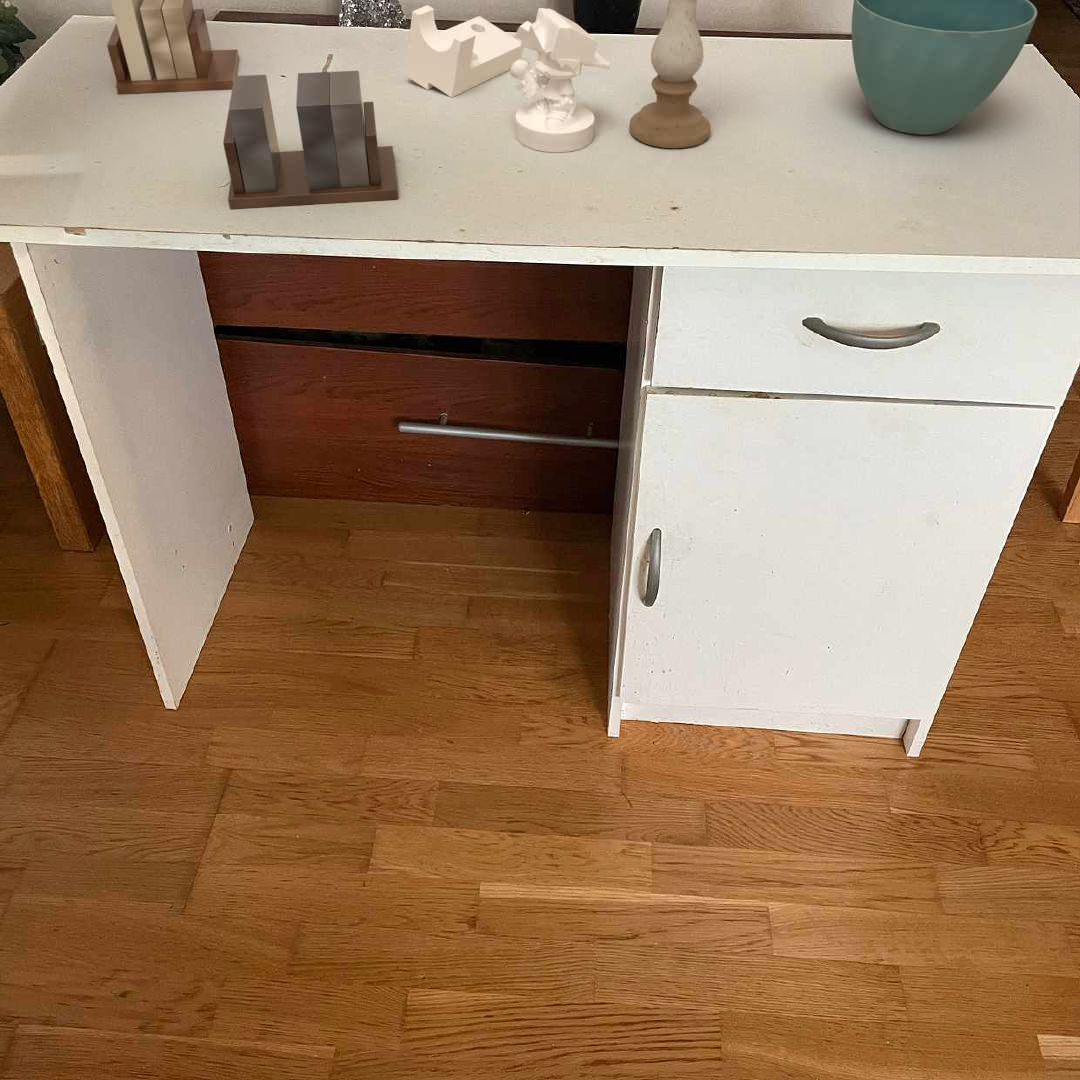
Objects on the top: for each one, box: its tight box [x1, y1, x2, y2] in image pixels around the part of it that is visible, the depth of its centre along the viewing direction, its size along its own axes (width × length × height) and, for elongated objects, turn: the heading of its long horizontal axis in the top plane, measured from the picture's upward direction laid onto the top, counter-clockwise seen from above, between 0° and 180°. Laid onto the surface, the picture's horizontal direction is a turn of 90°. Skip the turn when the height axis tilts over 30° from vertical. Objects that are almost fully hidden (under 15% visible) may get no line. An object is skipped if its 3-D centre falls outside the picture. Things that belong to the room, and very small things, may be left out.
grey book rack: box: [222, 70, 399, 210], centre depth 98 cm, size 16×10×9 cm, turn 99°
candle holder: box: [629, 0, 712, 149], centre depth 103 cm, size 9×9×20 cm
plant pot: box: [851, 0, 1038, 136], centre depth 109 cm, size 18×18×12 cm
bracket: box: [404, 4, 524, 98], centre depth 119 cm, size 13×7×8 cm, turn 144°
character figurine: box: [510, 7, 611, 153], centre depth 105 cm, size 9×10×12 cm
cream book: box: [110, 0, 155, 81], centre depth 114 cm, size 2×8×14 cm, turn 9°
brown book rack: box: [106, 0, 240, 95], centre depth 117 cm, size 13×10×9 cm
